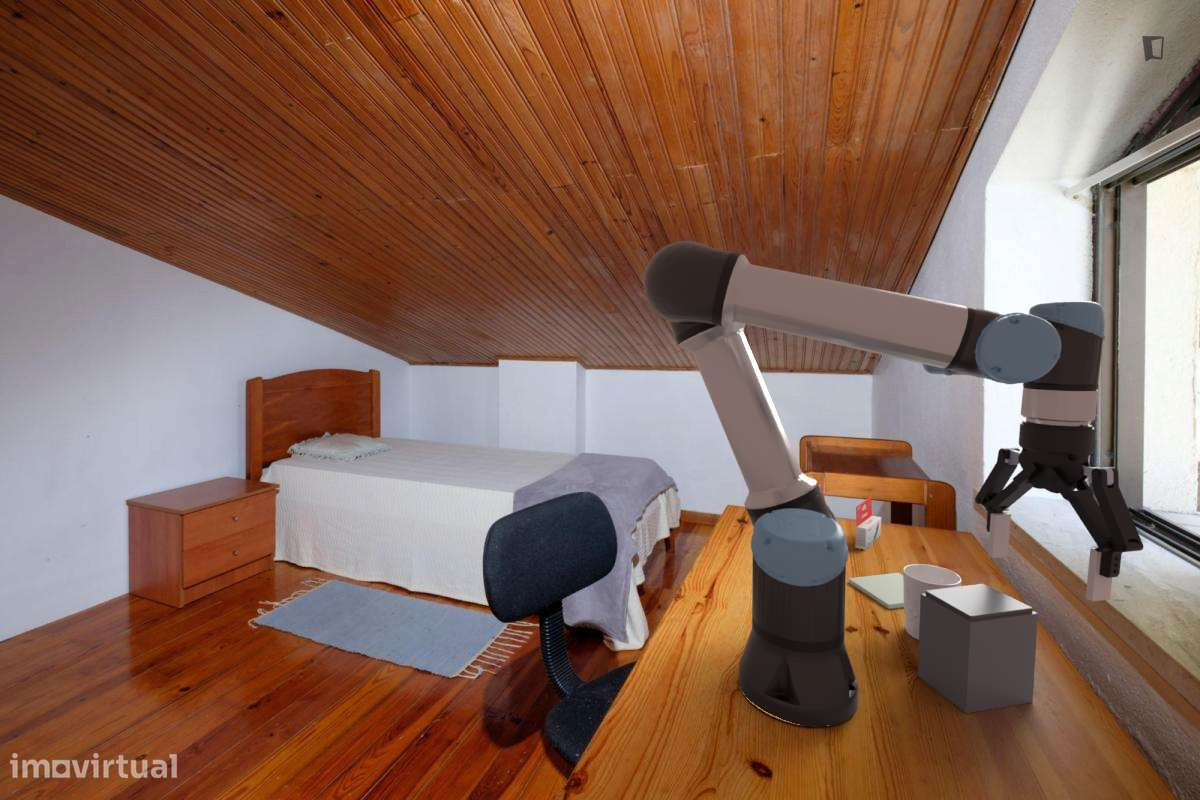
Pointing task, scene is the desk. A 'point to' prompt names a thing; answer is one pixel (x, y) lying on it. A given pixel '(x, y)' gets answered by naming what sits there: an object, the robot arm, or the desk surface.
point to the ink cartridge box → (866, 525)
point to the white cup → (923, 590)
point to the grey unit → (977, 647)
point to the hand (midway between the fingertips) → (1043, 576)
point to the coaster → (882, 588)
